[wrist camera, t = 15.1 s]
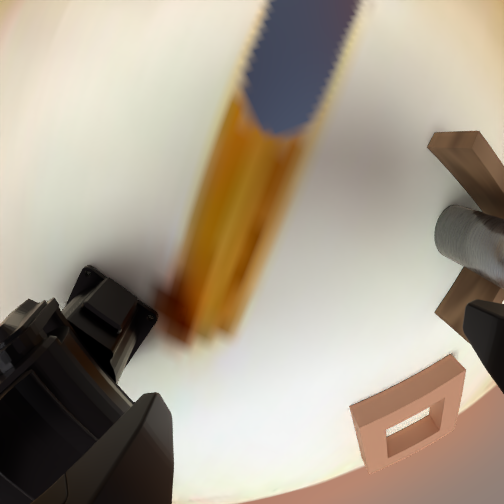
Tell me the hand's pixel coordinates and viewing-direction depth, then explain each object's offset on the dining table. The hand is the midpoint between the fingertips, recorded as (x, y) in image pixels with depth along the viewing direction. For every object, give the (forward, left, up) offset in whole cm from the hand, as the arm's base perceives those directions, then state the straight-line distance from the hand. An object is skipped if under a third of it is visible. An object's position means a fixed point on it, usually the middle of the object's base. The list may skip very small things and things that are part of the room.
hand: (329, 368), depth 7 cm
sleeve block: (-6, -25, -13) cm, 29 cm away
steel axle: (+10, -12, -13) cm, 20 cm away
